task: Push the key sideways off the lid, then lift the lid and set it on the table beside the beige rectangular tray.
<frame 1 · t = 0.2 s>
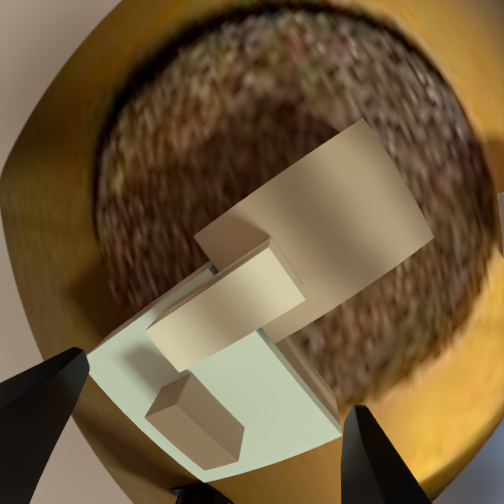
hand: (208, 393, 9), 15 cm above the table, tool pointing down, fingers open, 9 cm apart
lid: (209, 392, 22), point 4 cm above the table, touching beige rectangular tray
key: (224, 306, 16), point 7 cm above the table, slide at 0.0 cm
beige rectangular tray: (218, 367, 25), on the table
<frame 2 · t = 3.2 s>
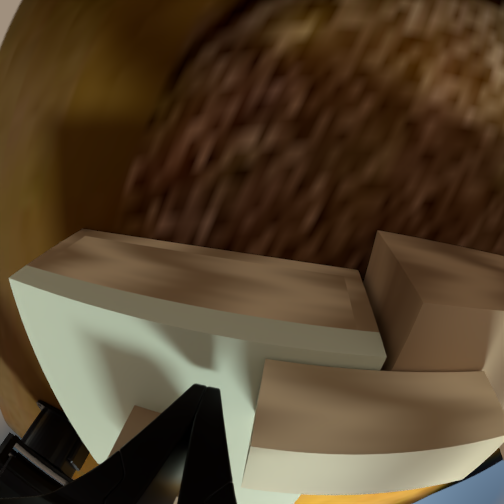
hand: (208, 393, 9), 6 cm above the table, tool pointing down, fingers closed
lid: (185, 417, 14), point 4 cm above the table, touching beige rectangular tray
key: (382, 436, 7), point 7 cm above the table, slide at 0.4 cm, touching gripper
beige rectangular tray: (203, 369, 17), on the table
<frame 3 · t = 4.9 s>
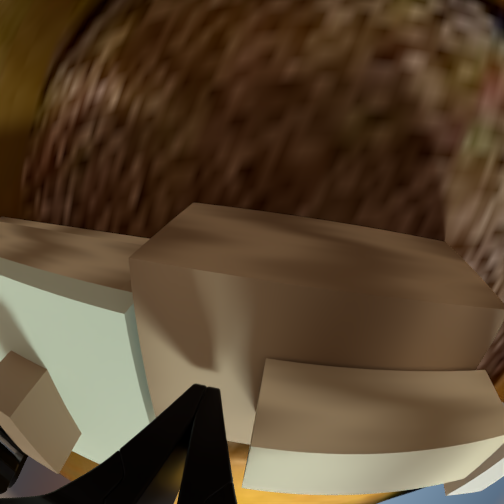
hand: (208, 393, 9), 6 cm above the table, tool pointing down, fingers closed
lid: (63, 374, 14), point 4 cm above the table, touching beige rectangular tray
key: (383, 435, 7), point 7 cm above the table, slide at 8.4 cm, touching gripper
adhesive note: (475, 421, 17), on the table
beige rectangular tray: (91, 338, 18), on the table
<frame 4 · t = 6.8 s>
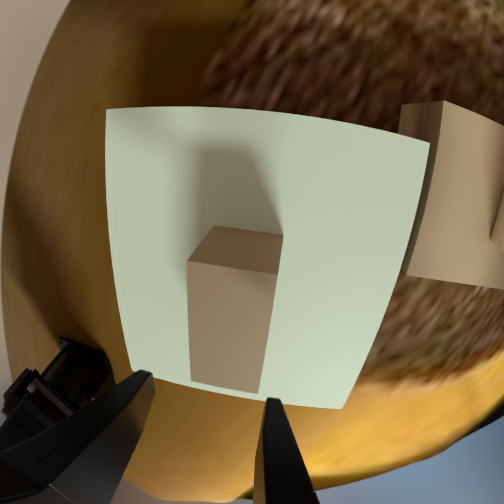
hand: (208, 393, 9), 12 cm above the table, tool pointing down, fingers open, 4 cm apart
lid: (249, 270, 16), point 4 cm above the table, touching beige rectangular tray
beige rectangular tray: (258, 243, 19), on the table
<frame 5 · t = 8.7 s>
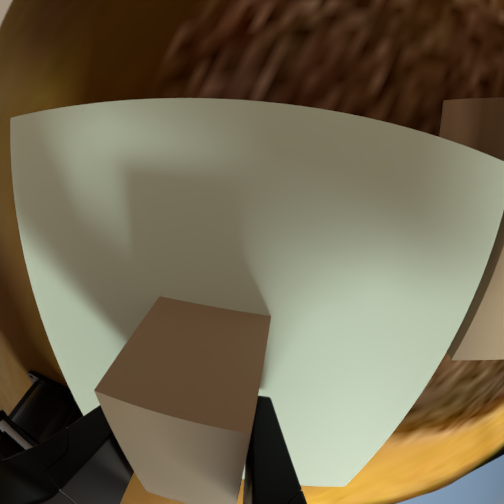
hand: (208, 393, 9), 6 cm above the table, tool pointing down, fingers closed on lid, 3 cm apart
lid: (225, 342, 11), point 4 cm above the table, touching gripper, beige rectangular tray
beige rectangular tray: (242, 290, 14), on the table
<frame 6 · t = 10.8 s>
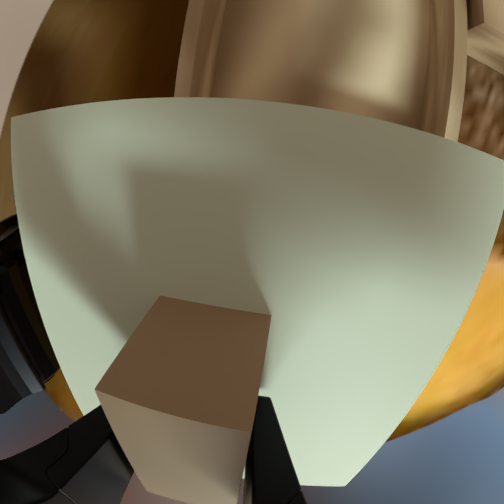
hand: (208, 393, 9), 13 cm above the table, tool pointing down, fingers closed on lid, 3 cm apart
lid: (225, 341, 11), point 10 cm above the table, touching gripper
beige rectangular tray: (327, 36, 14), on the table
when the fingers open (4 cm above the table, at t = 13.2 s): lid drops 2 cm, on the table.
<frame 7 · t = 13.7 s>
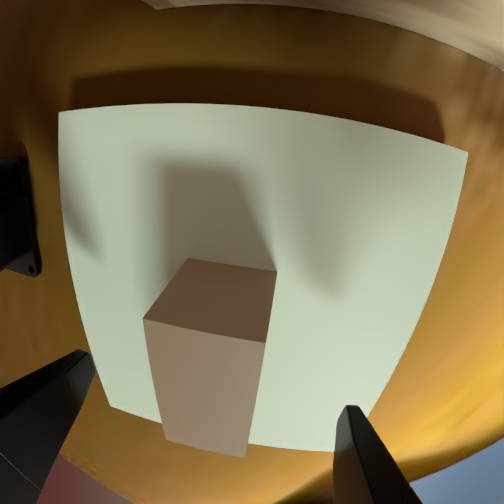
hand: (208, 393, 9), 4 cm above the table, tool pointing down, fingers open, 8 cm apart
lid: (236, 306, 13), on the table
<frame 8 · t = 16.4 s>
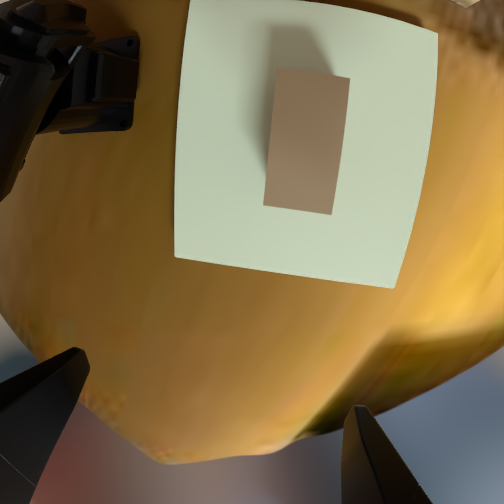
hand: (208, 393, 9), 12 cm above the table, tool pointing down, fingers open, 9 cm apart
lid: (303, 136, 17), on the table
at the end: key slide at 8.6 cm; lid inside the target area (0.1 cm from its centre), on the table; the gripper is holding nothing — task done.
